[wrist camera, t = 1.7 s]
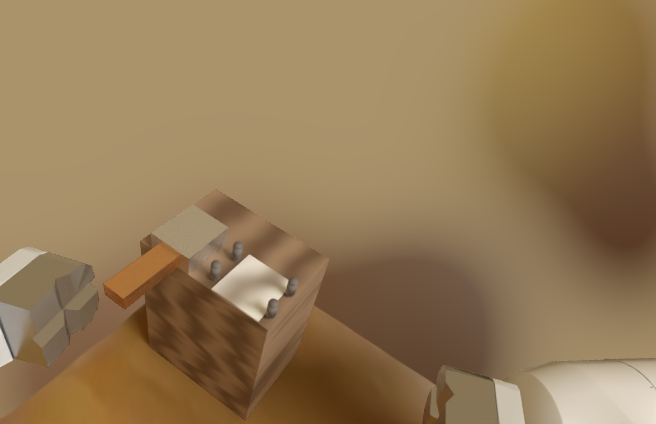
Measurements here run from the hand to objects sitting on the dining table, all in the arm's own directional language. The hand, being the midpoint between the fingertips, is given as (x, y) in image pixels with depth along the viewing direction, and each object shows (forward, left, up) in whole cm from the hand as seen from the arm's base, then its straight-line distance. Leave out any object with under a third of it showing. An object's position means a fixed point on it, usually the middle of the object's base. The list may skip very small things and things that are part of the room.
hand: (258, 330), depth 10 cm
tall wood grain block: (+19, -28, -62) cm, 71 cm away
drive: (+24, -20, -36) cm, 48 cm away
